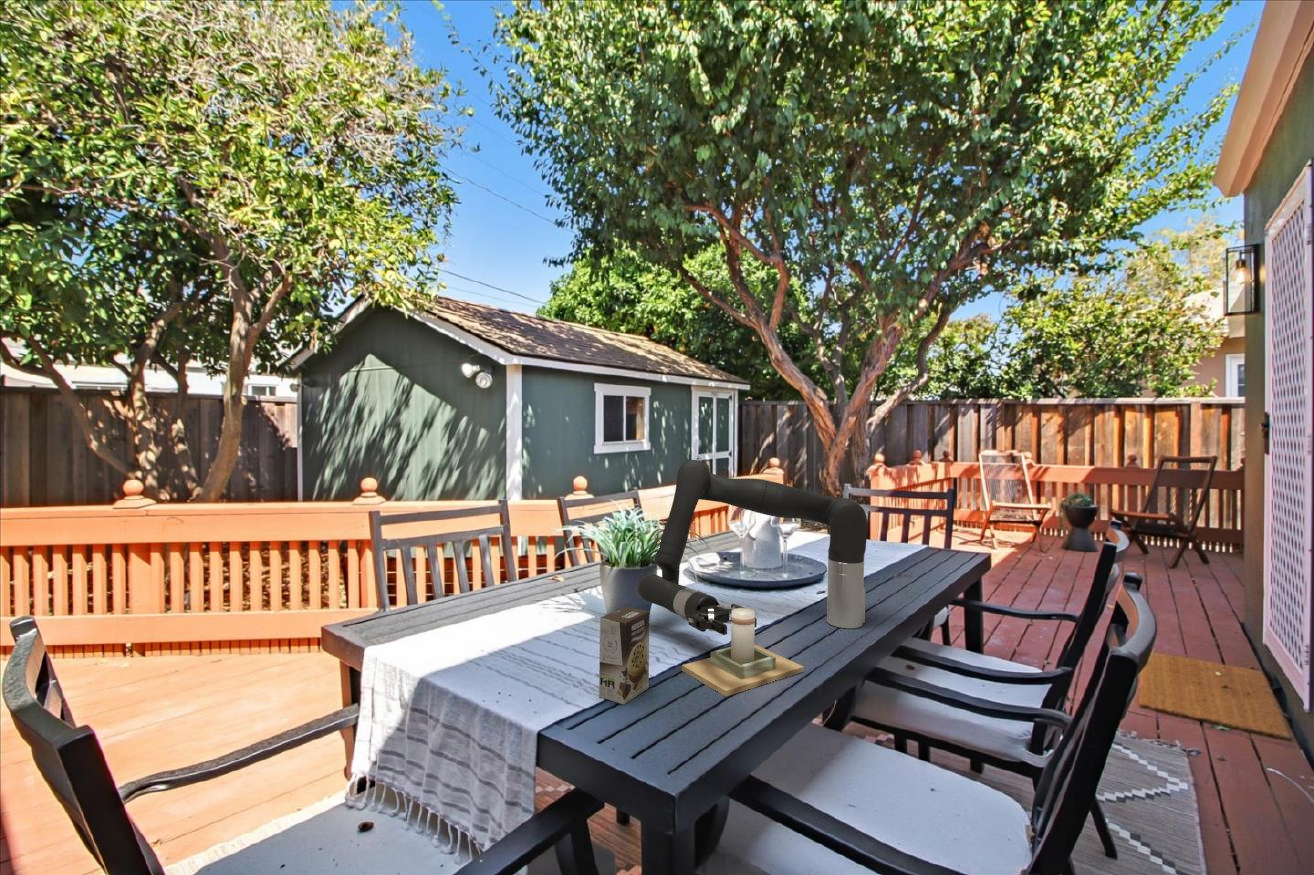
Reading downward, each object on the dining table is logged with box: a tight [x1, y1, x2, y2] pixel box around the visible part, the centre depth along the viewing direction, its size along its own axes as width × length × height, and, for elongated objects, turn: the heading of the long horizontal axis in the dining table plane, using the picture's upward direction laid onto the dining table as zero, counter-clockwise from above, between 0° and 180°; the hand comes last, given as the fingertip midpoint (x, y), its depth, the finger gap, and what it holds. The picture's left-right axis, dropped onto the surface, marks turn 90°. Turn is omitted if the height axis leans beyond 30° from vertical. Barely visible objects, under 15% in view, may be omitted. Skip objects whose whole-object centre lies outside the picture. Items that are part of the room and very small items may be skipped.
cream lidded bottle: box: [730, 607, 756, 665], centre depth 139 cm, size 5×5×12 cm
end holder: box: [681, 644, 805, 697], centre depth 139 cm, size 22×15×4 cm
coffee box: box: [598, 606, 650, 705], centre depth 128 cm, size 9×6×16 cm
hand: (741, 626), depth 139 cm, fingers open, 8 cm apart
